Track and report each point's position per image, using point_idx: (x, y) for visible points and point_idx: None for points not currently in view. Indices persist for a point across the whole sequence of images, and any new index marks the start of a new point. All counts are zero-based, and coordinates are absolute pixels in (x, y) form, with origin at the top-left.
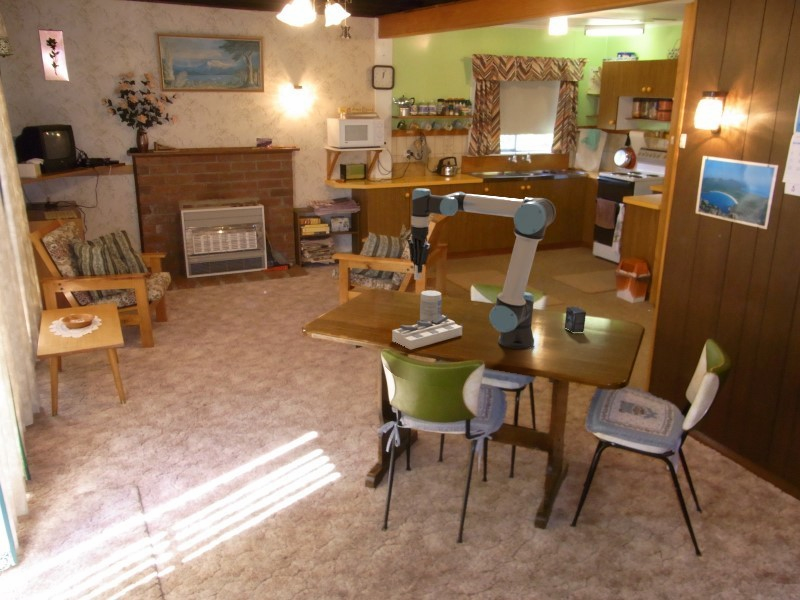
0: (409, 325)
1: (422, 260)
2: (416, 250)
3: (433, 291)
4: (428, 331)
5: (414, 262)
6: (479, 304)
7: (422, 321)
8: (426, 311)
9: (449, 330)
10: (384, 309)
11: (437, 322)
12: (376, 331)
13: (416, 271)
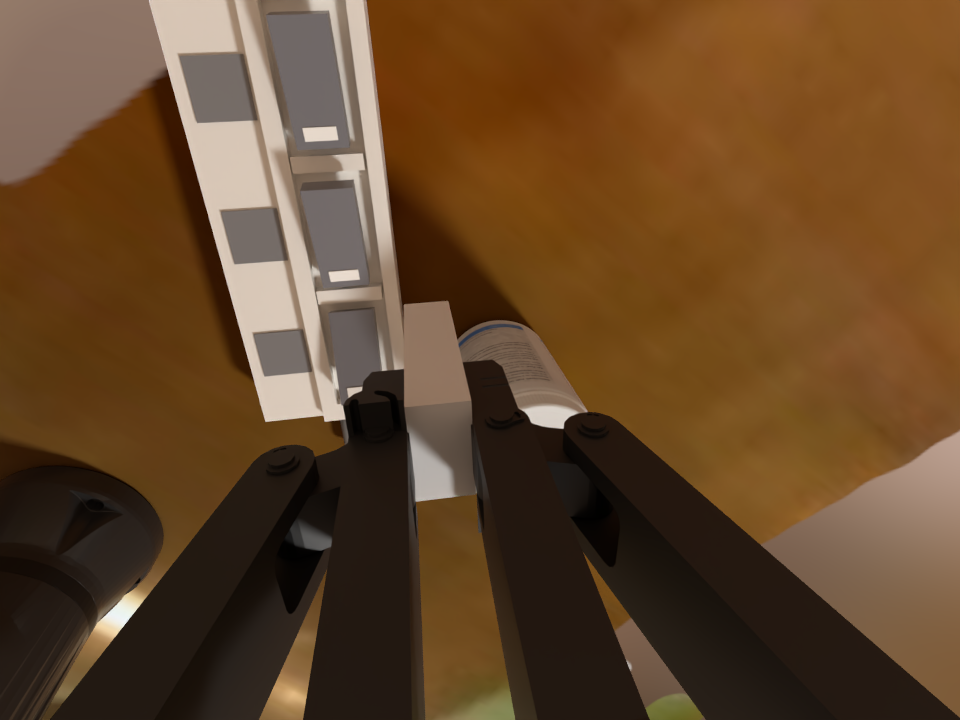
0: (342, 115)
1: (207, 530)
2: (529, 718)
3: None
4: (264, 209)
5: (491, 426)
6: None
7: (357, 237)
8: (485, 358)
9: (242, 333)
10: (789, 292)
11: (330, 323)
12: (567, 13)
13: (408, 353)
